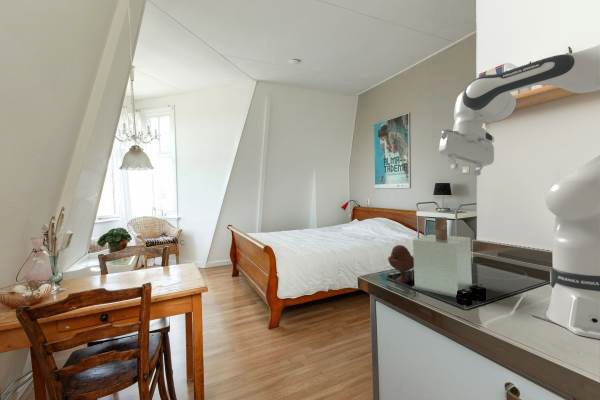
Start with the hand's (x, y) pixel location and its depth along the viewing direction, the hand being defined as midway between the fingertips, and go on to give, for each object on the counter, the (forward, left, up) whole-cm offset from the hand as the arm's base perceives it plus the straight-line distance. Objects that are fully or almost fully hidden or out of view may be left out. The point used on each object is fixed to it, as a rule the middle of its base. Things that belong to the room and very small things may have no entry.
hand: (465, 172), depth 96 cm
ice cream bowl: (+25, 0, -43) cm, 49 cm away
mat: (+10, -2, -43) cm, 44 cm away
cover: (+10, -2, -42) cm, 43 cm away
